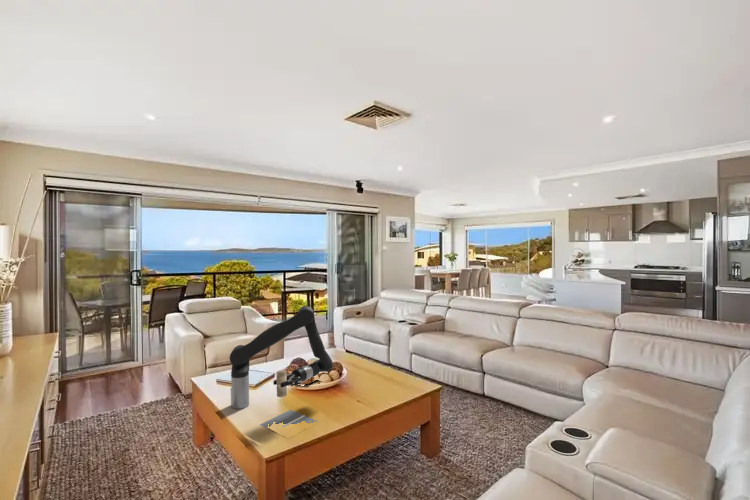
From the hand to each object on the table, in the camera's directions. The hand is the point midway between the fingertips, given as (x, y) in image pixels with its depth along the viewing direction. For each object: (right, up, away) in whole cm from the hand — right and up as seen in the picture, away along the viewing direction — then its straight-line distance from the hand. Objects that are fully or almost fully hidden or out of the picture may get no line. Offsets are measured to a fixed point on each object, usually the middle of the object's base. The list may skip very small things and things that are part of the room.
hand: (277, 384), depth 189 cm
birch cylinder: (+2, -6, +2) cm, 7 cm away
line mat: (+6, -20, -1) cm, 21 cm away
